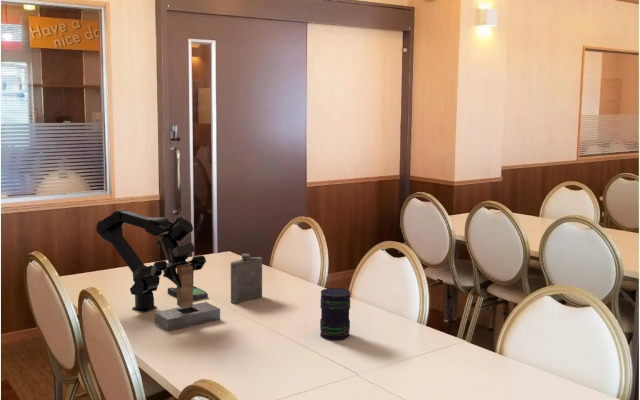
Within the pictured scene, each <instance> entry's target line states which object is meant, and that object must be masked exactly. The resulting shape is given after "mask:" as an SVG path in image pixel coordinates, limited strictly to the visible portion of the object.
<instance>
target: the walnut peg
mask: <svg viewBox="0 0 640 400" xmlns="http://www.w3.org/2000/svg"><path fill="white" fill-rule="evenodd" d="M176 273H177V275H178V278H179V280H180V282H181V286H182V287H181V288H179V287H178V286H177V285H176V287H177V298H176V305H177V306H178V307H182V308H185V307H190V306H193V304H194V301H193V286H194V272H193V266H191V265H188V264H184V265H177V268H176Z"/></svg>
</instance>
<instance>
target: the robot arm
mask: <svg viewBox="0 0 640 400" xmlns="http://www.w3.org/2000/svg"><path fill="white" fill-rule="evenodd" d="M125 224H128V225H132V226H135V227H138V228H141V229H143V230H144V231H145V232H146V233H147V234H149V235H151V236H153V237H157V236H160V235H162V236H161V237H159V238H158V240H157V242H156V245H157V246H162V248H163V252H164V254H165V255H164V259H167V261H166V260H160V261H154V263H153V265H148V266H147V265H146V264H145V263H144V262H143V261H142V260H141V258H140V257H139V256H138V254H137V252H135V250H134V249H133V247H132V246H131V244H130V243H129V242H128V241H127V239H126V238H125V237H124V235H123V234H124V233H123V232H124V231H123V229H124V228H123V226H124V225H125ZM95 228H96V232H97V234H98V235H99V236H100V237H101V238H102V239H103V240H104V241H106V242H109V243H110V244H111V245H112V246H113V247H114V249H115V250H116V252H117V253H118V254H119V256H120V257H121V259H122V260H123V261H124V263H125V264H126V265H127V267H128V268H129V270H130V271H131V272H132V279H133V283H134V284H132V286H131V287H130V288H129V291H130V295H132V296H133V295H134V306H132V308H131V310H135V311H139V312H143V313H144V312H149V311H151V310H153V309H154V310H155V309H156V308H157V307H158V306H157V305H155V297H154V292H155V291H157V290H158V287H159V285H160V281H161V280H160V279H161V275H162V274H163V275H162V277H164V278H166V279H168V280H170V281H171V282H172V283H173V284H174V285H176V287H177V286H178V287H179V288H181V287H182V286H181V282H180V280H179V278H178V275H177V265H184V264H188V265H191V266H193V273H194V272H195V271H200V270H202V269H203V267H204V266H205V264H206V262H207V260H206V257H205V256H204V255H202V254H201V255H194V256H193V257H192V258H191V260H188V258H189V255H192V253H194V252H195V251H196V249H195V245H194V243H193V242H189V243H187V244H185V245H180V242H182V241H185V239H186V238H187V237H188V236H189V235H190V234H191V233H192V232H193V230H194V227H193V224H192V223H191V222H190V221H188V220H186V219H184V217H182V216H179V217H177V218H176V219H175V221H170V220H169V219H168V218H167V217H162V216H161V217H159V216H157V217H156V216H155V217H153V216H152V217H151V216H150V217H149V216H147V215H143V214H140V213H136V212H133V211H130V210H128V209H125V208H124V209H117V210H115V211H114V212H112V213H111V214H110V215H108V216H107V217H105V218H103V219H101V220H99V221H98V222H97V224H96V227H95ZM167 262H168V263H167Z"/></svg>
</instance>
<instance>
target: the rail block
mask: <svg viewBox="0 0 640 400" xmlns="http://www.w3.org/2000/svg"><path fill="white" fill-rule="evenodd" d="M220 320H221V308H219V307H217V306H215V305H213V304H212V303H209V302H207V301H203V302H199V303H193V306H190V307H185V308H182V307H180V306H178V307H174V308H169V309H165V310H159V311H155V312H154V324H155V325H157V326H159V327H160V328H162V329H163V330H165V331H167V332H170V331H175V330H179V329H185V328H189V327H193V326H198V325H203V324H207V323H211V322H216V321H220Z"/></svg>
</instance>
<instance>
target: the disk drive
mask: <svg viewBox="0 0 640 400" xmlns="http://www.w3.org/2000/svg"><path fill="white" fill-rule="evenodd" d="M167 294H168V295H169V296H171V297H174V298H176V299H177V286H176V287H167ZM208 298H209V294H208V292H207V291H206V290H203V289H201V288H199V287H197V286H194V285H193V302H194V301H199V300H204V299H208Z"/></svg>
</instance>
